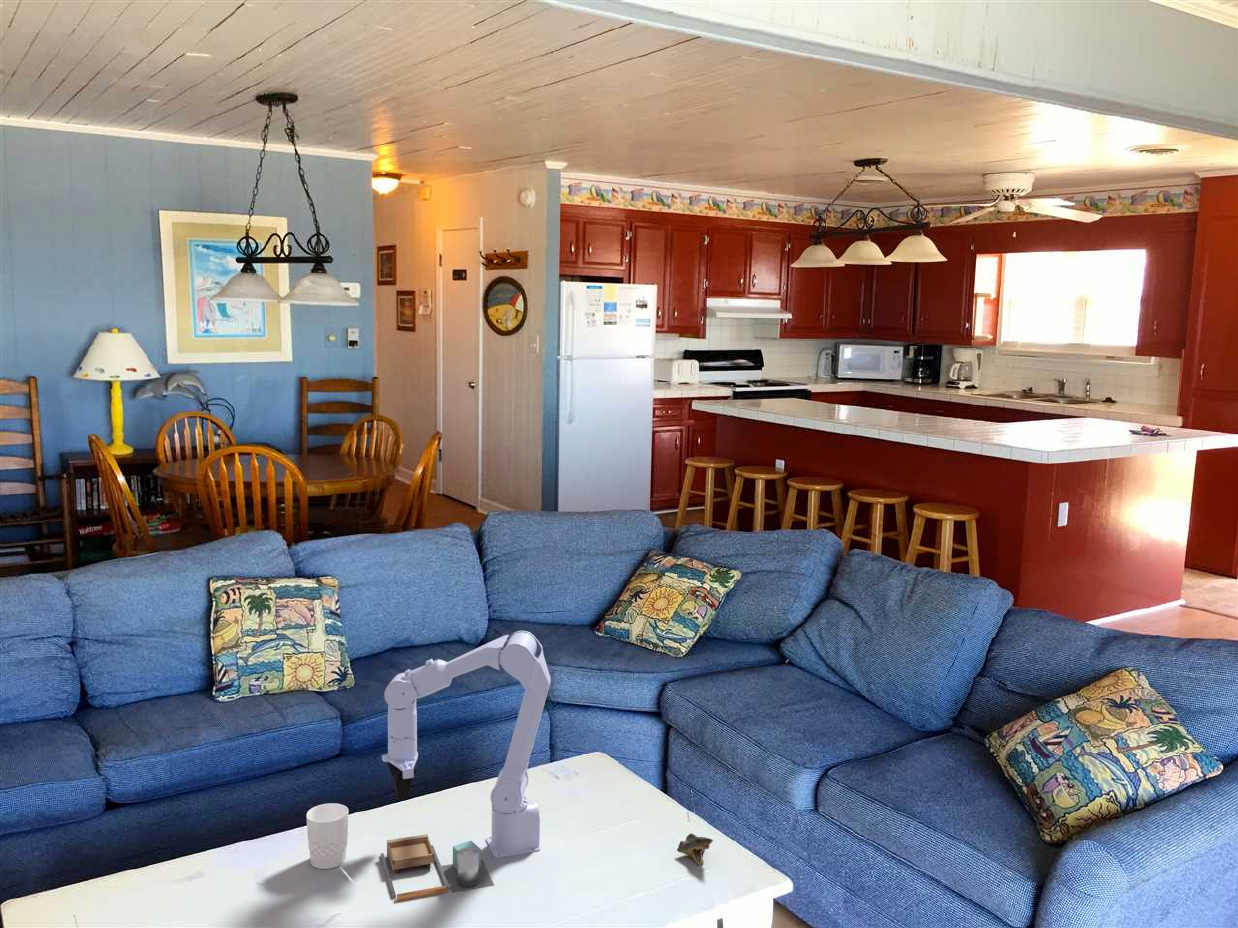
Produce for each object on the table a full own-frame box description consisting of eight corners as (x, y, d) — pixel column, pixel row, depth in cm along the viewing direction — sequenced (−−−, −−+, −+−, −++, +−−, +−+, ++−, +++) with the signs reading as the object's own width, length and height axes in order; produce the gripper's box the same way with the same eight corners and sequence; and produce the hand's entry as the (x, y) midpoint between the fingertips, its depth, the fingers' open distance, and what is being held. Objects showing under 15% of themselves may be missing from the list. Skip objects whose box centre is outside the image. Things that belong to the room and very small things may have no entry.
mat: (481, 860, 200) (481, 858, 200) (494, 886, 190) (494, 884, 190) (441, 866, 197) (441, 865, 197) (452, 893, 188) (452, 892, 187)
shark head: (718, 870, 200) (726, 839, 199) (690, 872, 197) (698, 840, 196) (700, 848, 207) (707, 818, 206) (672, 849, 204) (680, 818, 203)
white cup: (337, 873, 194) (336, 824, 192) (299, 868, 195) (298, 819, 194) (355, 852, 201) (355, 805, 200) (319, 848, 203) (318, 801, 201)
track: (432, 848, 204) (432, 843, 203) (450, 893, 188) (450, 887, 188) (380, 857, 200) (380, 851, 200) (393, 903, 184) (393, 897, 184)
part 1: (471, 859, 199) (471, 840, 199) (480, 868, 196) (480, 848, 196) (452, 865, 197) (452, 846, 196) (462, 874, 194) (462, 854, 193)
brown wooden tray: (427, 850, 203) (427, 833, 202) (434, 869, 196) (434, 852, 195) (386, 856, 200) (386, 840, 199) (392, 876, 193) (392, 858, 192)
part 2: (475, 875, 194) (476, 845, 193) (480, 885, 190) (480, 855, 189) (455, 878, 192) (455, 849, 191) (459, 889, 188) (459, 859, 188)
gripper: (377, 722, 209) (377, 784, 210) (387, 750, 195) (387, 816, 197) (411, 718, 211) (411, 780, 213) (424, 745, 198) (424, 811, 199)
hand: (402, 797), depth 205 cm, fingers closed
